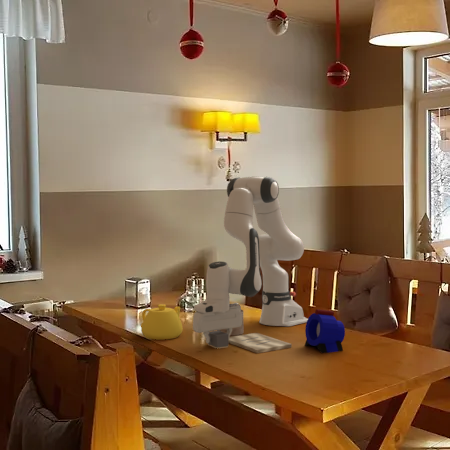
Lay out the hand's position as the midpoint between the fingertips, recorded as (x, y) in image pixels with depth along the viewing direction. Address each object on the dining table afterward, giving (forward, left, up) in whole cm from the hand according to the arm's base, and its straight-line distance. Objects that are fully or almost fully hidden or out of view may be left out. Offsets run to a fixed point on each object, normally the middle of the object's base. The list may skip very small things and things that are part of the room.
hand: (217, 341), depth 244 cm
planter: (-15, -14, -2) cm, 21 cm away
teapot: (+9, -28, -2) cm, 29 cm away
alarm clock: (-32, +25, -2) cm, 41 cm away
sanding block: (0, 0, -2) cm, 2 cm away
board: (-14, +6, -2) cm, 15 cm away
